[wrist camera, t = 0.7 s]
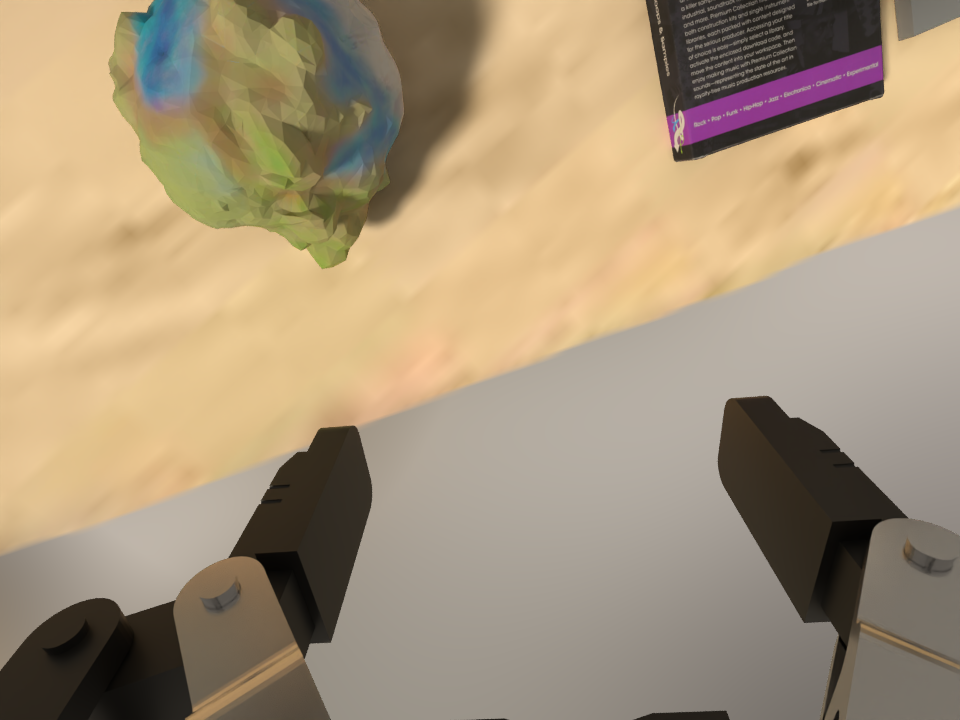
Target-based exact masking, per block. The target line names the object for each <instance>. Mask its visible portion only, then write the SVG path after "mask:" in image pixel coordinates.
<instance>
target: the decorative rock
mask: <svg viewBox="0 0 960 720" xmlns="http://www.w3.org/2000/svg"><path fill="white" fill-rule="evenodd" d="M114 48H115V49H114V52H113V55H112V56H111V57H110V59H109V63H108V64H109V68H110V71H111V72H110V76H111V78H112V79H113V81H114V84H115V90H114V93H113V101H114V103H115V104H116V106H117V108H118V109H119V111H120V113H121V114H122V116H123V117H124V118H125V119H126V121H127V122H128V123H129V124H130V125H131V126H132V128H133V129H134V131H135V133H136V134H137V136H138V137H139V140H140V154H141V158H142V161H143V162H144V163H145V164H146V165H147V166H148V167H149V168H150V169H151V170H152V172H153V173H154V174H155V175H156V177H157V178H158V180H159V181H160V182H161V183H162V184H163V185H164V188H165V191H166V193H167V195H168V196H169V197H170V199H171V200H172V201H173V203H175V204H176V205H177V206H179V207H180V208H181V209H182V210H184V211H185V212H186V213H188V214H189V215H190V216H191V217H192V218H194V219H195V220H197V221H199V222H201V223H203V224H205V225H207V226H210V227H212V228H216V229H218V228H233V227H239V226H256V227H262V228H265V229H267V230H268V231H270V232H276V233H278V234H280V235H281V236H283V237H285V238H286V239H287V240H288V241H289V242H290V243H291V244H292V245H293V246H294V247H296V248H297V249H299V250H303V249H305V248H307V249H308V251H309V252H310V254H311V255H312V257H313V258H314V259H315V261H316V262H317V263H318V264H319V266H320V267H321V268H322V269H324V268H330V267H334V266H336V265H338V264H340V263H341V262H343V261H345V260H346V258H347V255H348V252H349V249H350V247H351V246H352V245H353V244H354V242H355V241H356V240H357V238H358V237H359V235H360V232H361V230H362V228H363V225H364V223H365V221H366V218H367V213H368V205H369V202H370V200H371V198H372V197H373V196H374V195H375V193H376V192H378V191H380V190H382V189H383V188H385V187H386V186H387V185H388V184H389V183H390V179H389V175H388V172H387V168H386V164H385V162H386V158H387V155H388V153H389V151H390V149H391V147H392V145H393V143H394V141H395V139H396V138H397V136H398V134H399V130H400V126H401V122H402V119H403V115H404V104H403V94H402V84H401V77H400V73H399V71H398V68H397V65H396V62H395V61H394V59H393V57H392V56H391V54H390V52H389V51H388V49H387V47H386V46H385V44H384V42H383V38H382V35H381V32H380V28H379V25H378V22H377V20H376V18H375V17H374V15H373V14H372V12H371V11H370V10H369V9H367V8H366V7H365V6H364V5H363V4H362V3H361V2H360V1H359V0H154V1H153V2H152V3H151V5H150V6H149V8H148V11H147V13H140V12H121V14H120V17H119V20H118V23H117V27H116V31H115V39H114Z"/></svg>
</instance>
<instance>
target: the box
mask: <svg viewBox="0 0 960 720" xmlns="http://www.w3.org/2000/svg"><path fill="white" fill-rule="evenodd" d="M646 4H647V10H648V15H649V20H650V27H651V33H652V39H653V45H654V51H655V56H656V61H657V67H658V73H659V78H660V85H661V89H662V95H663V101H664V106H665V111H666V117H667V123H668V128H669V133H670V139H671V144H672V151H673V157H674V160H675V161H676V162H679V161H688V160H697V159H700V158H703V157H706V156H707V155H710V154H713V153H716V152H718V151H721V150H724V149H727V148H730V147H733V146H736V145H739V144H742V143H745V142H747V141H750V140H753V139H756V138H759V137H762V136H765V135H768V134H771V133H774V132H777V131H779V130H782V129H785V128H789V127H792V126H794V125H797V124H800V123H803V122H806V121H809V120H812V119H815V118H818V117H821V116H823V115H826V114H829V113H832V112H835V111H838V110H841V109H844V108H847V107H850V106H853V105H856V104H859V103H862V102H865V101H868V100H873V99H877V98H881V97H882V96H883V94H884V80H883V60H882V41H881V22H880V0H646Z"/></svg>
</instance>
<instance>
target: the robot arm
mask: <svg viewBox="0 0 960 720" xmlns="http://www.w3.org/2000/svg"><path fill="white" fill-rule="evenodd" d="M718 469H719V474H720V478H721V481H722V484H723V486H724V488H725V489H726V491H727V493H728V495H729V496H730V498H731V500H732V501H733V503H734V505H735V507H736V508H737V510H738V512H739V513H740V515H741V517H742V518H743V520H744V522H745V523H746V525H747V527H748V529H749V530H750V532H751V534H752V535H753V537H754V539H755V540H756V542H757V543H758V545H759V547H760V549H761V551H762V552H763V554H764V556H765V557H766V559H767V560H768V562H769V564H770V566H771V568H772V569H773V571H774V573H775V574H776V576H777V578H778V579H779V581H780V583H781V584H782V586H783V588H784V590H785V591H786V593H787V595H788V596H789V598H790V600H791V602H792V603H793V605H794V606H795V608H796V610H797V612H798V613H799V615H800V617H801V618H802V620H803V622H804V623H811V622H831V623H832V624H833V626H834V627H835V629H836V631H837V632H838V637H837V640H836V643H835V646H834V651H833V656H832V661H831V666H830V671H829V675H828V680H827V686H826V690H825V695H824V700H823V705H822V710H821V715H820V720H960V536H959V535H957V534H955V533H953V532H952V531H949V530H947V529H945V528H943V527H940V526H938V525H935V524H932V523H928V522H924V521H921V520H915V519H909V518H908V517H907V516H906V515H905V514H904V513H902V511H901V510H900V509H899V508H898V507H897V506H896V505H895V504H894V503H893V502H892V501H891V500H890V499H889V498H888V497H887V496H886V495H885V494H884V493H883V492H882V491H881V490H880V489H879V488H878V487H877V486H876V485H875V484H874V483H873V482H872V481H871V480H870V479H869V478H868V477H867V476H866V475H865V474H864V473H863V472H862V471H861V470H860V469H859V467H855V466H854V462H853V461H852V460H851V459H850V458H849V457H848V456H847V455H846V454H845V453H844V452H840V448H839V447H838V446H837V445H836V444H835V443H834V442H833V441H832V440H831V439H830V438H829V437H828V436H827V435H826V434H825V433H824V432H823V431H821V430H820V429H818V428H816V427H814V426H812V425H811V424H809V423H807V422H805V421H804V420H802V419H800V418H789V417H788V416H787V414H786V413H785V412H784V411H783V410H782V409H781V408H780V407H779V406H778V405H777V404H776V402H775V401H774V400H773V399H772V398H770V397H769V396H758V397H745V398H731V399H729V400H728V401H727V402H726V405H725V409H724V416H723V423H722V431H721V439H720V446H719V454H718ZM371 502H372V484H371V478H370V474H369V470H368V467H367V463H366V459H365V455H364V451H363V447H362V443H361V439H360V435H359V432H358V430H357V428H356V427H355V426H342V427H328V428H320V429H319V430H318V432H317V434H316V436H315V438H314V439H313V441H312V443H311V445H310V447H309V449H308V451H307V452H297V453H296V454H295V455H294V456H293V457H292V458H290V459H289V460H288V461H287V462H286V463H285V464H284V465H283V466H282V467H280V468H279V470H278V472H277V474H276V476H275V477H274V479H273V481H272V482H271V484H270V489H267V491H266V493H265V495H264V496H263V498H262V500H261V504H259V505H258V507H257V509H256V510H255V512H254V514H253V516H252V517H251V519H250V521H249V523H248V524H247V526H246V528H245V530H244V531H243V533H242V535H241V537H240V538H239V540H238V542H237V544H236V545H235V547H234V549H233V551H232V552H231V554H230V556H229V558H227V559H224V560H221V561H219V562H216V563H214V564H212V565H210V566H208V567H206V568H205V569H203V570H202V571H200V572H199V573H198V574H196V575H195V576H194V577H193V578H192V579H191V580H190V581H189V582H188V583H187V584H186V585H185V586H184V587H183V589H182V590H181V591H180V593H179V595H178V596H177V598H176V600H175V601H172V602H169V603H166V604H162V605H159V606H156V607H153V608H150V609H147V610H144V611H141V612H138V613H135V614H131V615H128V616H124V614H123V613H122V611H121V610H120V608H119V606H118V605H117V604H116V603H115V602H114V601H112V600H110V599H105V598H95V599H90V600H86V601H82V602H79V603H77V604H74V605H72V606H70V607H68V608H66V609H64V610H62V611H60V612H58V613H57V614H55V615H53V616H52V617H51V618H49V619H48V620H46V621H45V622H44V623H42V624H41V625H40V626H39V627H38V628H37V629H35V630H34V631H33V632H32V633H31V634H30V635H29V636H28V637H27V639H26V640H25V641H24V642H23V643H22V644H21V646H20V647H19V648H18V649H17V651H16V652H15V653H14V654H13V656H12V657H11V658H10V659H9V661H8V662H7V663H6V665H5V666H4V667H3V668H2V669H1V671H0V720H331V719H330V717H329V715H328V712H327V710H326V708H325V706H324V703H323V701H322V699H321V697H320V694H319V692H318V690H317V687H316V685H315V683H314V680H313V678H312V676H311V674H310V671H309V669H308V667H307V665H306V662H305V660H304V659H305V656H306V653H307V650H308V647H309V644H310V643H330V642H331V640H332V637H333V634H334V630H335V627H336V623H337V620H338V617H339V613H340V610H341V607H342V603H343V600H344V596H345V592H346V589H347V586H348V583H349V579H350V576H351V573H352V569H353V566H354V562H355V559H356V556H357V552H358V549H359V546H360V542H361V539H362V535H363V532H364V529H365V525H366V521H367V518H368V515H369V512H370V508H371ZM479 720H480V719H479ZM481 720H507V719H481ZM635 720H730V719H729V717H728V714H727V711H705V712H677V713H652V714H649V715H646V716H643V717H640V718H637V719H635Z"/></svg>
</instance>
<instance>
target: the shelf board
mask: <svg viewBox="0 0 960 720" xmlns="http://www.w3.org/2000/svg"><path fill="white" fill-rule="evenodd" d="M895 9H896V19H897V28H898V38H899V41H901V40H904V39H907V38H910V37H913V36H916V35H918V34H921V33H923V32H925V31H928V30H930V29H932V28H935V27H937V26H939V25H942V24H944V23H946V22H949V21H951V20H953V19H956V18H958V17H960V0H895Z"/></svg>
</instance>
